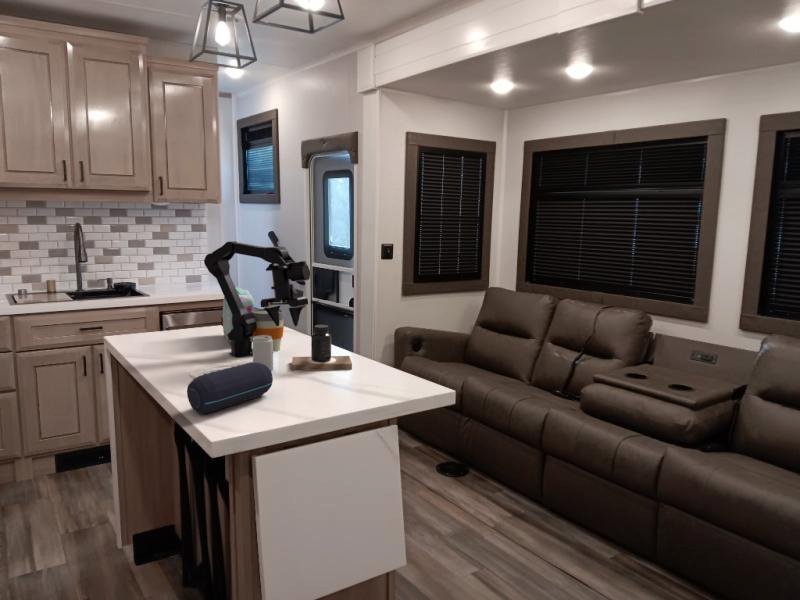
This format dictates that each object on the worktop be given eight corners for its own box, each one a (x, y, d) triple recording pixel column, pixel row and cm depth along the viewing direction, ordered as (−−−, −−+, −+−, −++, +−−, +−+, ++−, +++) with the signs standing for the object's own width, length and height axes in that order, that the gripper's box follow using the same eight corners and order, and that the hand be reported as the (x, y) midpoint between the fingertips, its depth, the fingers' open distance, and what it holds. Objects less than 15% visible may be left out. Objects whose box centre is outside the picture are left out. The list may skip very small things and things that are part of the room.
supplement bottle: (307, 359, 201) (307, 325, 200) (323, 356, 206) (323, 323, 204) (318, 363, 196) (318, 328, 195) (335, 360, 201) (335, 326, 199)
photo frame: (231, 365, 196) (257, 377, 183) (231, 369, 197) (257, 380, 183) (189, 372, 187) (213, 385, 173) (189, 376, 187) (213, 389, 174)
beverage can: (268, 375, 188) (267, 339, 186) (249, 374, 189) (249, 337, 188) (276, 370, 194) (276, 335, 192) (258, 369, 195) (257, 334, 194)
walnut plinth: (292, 370, 194) (292, 364, 194) (292, 362, 205) (292, 356, 205) (351, 369, 198) (352, 363, 197) (349, 361, 208) (349, 355, 208)
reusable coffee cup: (288, 346, 229) (288, 309, 227) (279, 354, 216) (278, 314, 214) (257, 345, 230) (257, 307, 228) (246, 352, 218) (245, 313, 215)
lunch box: (220, 334, 249) (219, 284, 246) (244, 332, 254) (243, 283, 250) (230, 347, 225) (229, 292, 222) (257, 345, 230) (256, 291, 227)
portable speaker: (252, 389, 173) (252, 357, 171) (276, 396, 168) (276, 362, 166) (180, 412, 152) (178, 375, 151) (205, 420, 147) (204, 382, 145)
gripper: (316, 278, 207) (321, 322, 208) (279, 280, 217) (285, 321, 219) (294, 282, 198) (299, 327, 199) (257, 284, 208) (262, 327, 210)
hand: (286, 325), depth 207 cm, fingers open, 9 cm apart
